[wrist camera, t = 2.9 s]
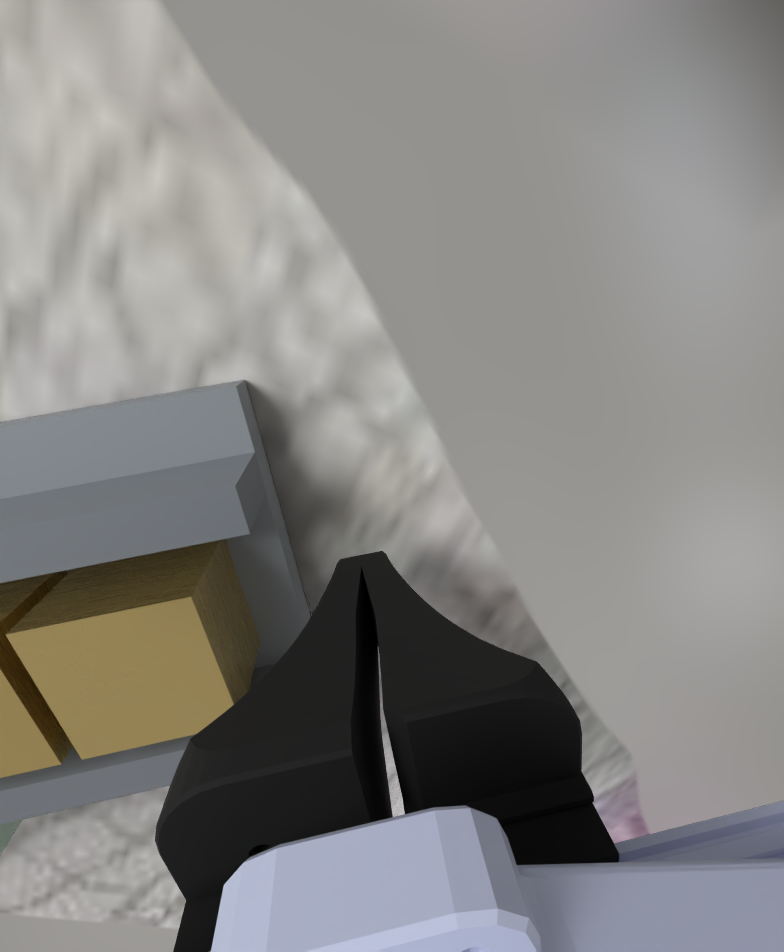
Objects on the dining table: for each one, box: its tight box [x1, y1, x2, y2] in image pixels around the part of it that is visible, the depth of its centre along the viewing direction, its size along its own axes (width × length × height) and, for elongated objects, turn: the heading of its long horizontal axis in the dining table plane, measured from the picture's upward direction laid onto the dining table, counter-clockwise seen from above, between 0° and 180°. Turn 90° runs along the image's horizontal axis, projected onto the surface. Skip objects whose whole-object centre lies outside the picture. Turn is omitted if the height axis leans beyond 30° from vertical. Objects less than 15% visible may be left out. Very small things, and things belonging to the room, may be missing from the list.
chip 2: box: [5, 539, 260, 760], centre depth 12 cm, size 4×4×3 cm
